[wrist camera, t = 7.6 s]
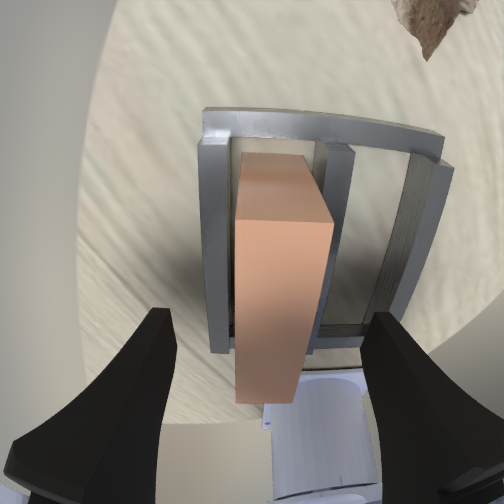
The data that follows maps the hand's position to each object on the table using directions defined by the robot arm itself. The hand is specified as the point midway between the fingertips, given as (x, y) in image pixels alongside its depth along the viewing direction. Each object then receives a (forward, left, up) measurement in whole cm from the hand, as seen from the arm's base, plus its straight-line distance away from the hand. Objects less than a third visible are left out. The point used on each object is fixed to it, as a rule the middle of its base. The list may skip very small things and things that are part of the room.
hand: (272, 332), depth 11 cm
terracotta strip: (0, 0, -6) cm, 6 cm away
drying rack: (0, -2, -5) cm, 6 cm away
